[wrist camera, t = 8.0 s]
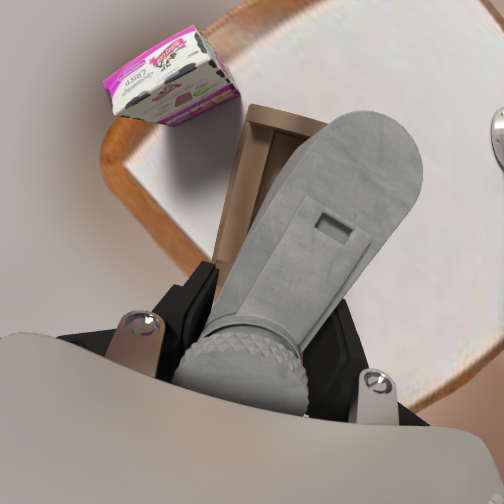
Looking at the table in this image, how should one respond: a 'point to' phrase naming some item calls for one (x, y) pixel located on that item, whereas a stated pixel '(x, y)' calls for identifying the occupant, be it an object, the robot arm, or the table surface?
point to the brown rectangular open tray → (256, 174)
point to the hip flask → (303, 260)
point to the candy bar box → (171, 81)
